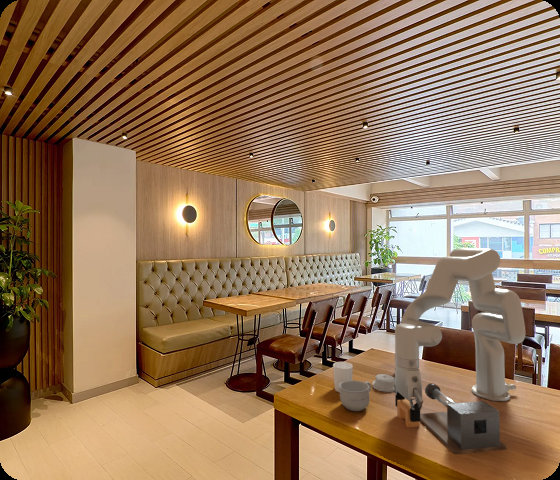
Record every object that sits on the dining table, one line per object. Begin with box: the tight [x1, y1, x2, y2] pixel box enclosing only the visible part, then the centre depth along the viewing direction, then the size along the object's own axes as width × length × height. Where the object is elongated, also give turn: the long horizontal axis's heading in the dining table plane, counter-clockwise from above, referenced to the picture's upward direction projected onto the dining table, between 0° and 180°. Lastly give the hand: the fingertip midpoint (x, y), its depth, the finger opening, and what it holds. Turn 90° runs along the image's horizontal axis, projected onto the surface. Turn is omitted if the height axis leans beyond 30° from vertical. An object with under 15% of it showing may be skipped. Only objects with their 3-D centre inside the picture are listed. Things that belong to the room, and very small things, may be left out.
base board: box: [420, 411, 507, 455], centre depth 101 cm, size 16×20×1 cm
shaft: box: [424, 382, 457, 408], centre depth 106 cm, size 5×18×5 cm, turn 7°
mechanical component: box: [372, 373, 395, 393], centre depth 134 cm, size 10×4×10 cm
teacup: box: [339, 379, 372, 412], centre depth 118 cm, size 14×11×8 cm
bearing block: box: [446, 400, 501, 450], centre depth 95 cm, size 12×6×10 cm, turn 97°
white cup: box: [332, 361, 353, 393], centre depth 132 cm, size 8×8×10 cm
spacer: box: [396, 398, 421, 428], centre depth 108 cm, size 4×7×6 cm, turn 7°
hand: (407, 413), depth 108 cm, fingers open, 9 cm apart
